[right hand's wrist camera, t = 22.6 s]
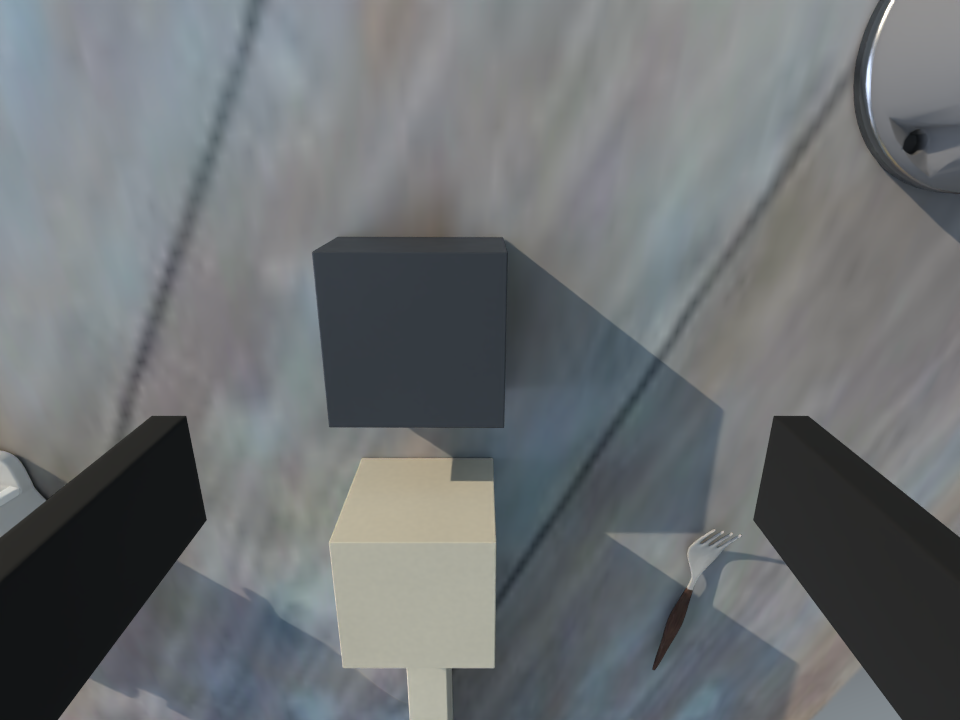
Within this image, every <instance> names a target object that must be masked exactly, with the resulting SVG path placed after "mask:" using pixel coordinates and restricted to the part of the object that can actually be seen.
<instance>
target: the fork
mask: <svg viewBox="0 0 960 720" xmlns="http://www.w3.org/2000/svg"><path fill="white" fill-rule="evenodd" d="M715 531H716V530H715V529H713V530H711V531H710V532H708V533H707V534H705V535H703V536H702V537H700V538H699V539H698V540H696V541H695V542H694V543H693V544H692V545H691V546H690V547H689V549H688V552H687V557H688V562H689V566H690V569H691V580H690V582H689V584H688V586H687V587H686V589H685V591H684V592H683V594H682V596H681V597H680V599H679V600H678V602H677V604H676V605H675V607H674V609H673V610H672V612H671V614H670V616H669V618H668V621H667V624H666V627H665V630H664V634H663V637H662V640H661V643H660V646H659V649H658V652H657V655H656V658H655V661H654V665H653V670H655V669H656V668H657V666H658V665H659V663H660V662H661V660H662V658H663V656H664V655H665V653H666V651H667V649H668V648H669V646H670V644H671V643H672V641H673V639H674V638H675V636H676V634H677V633H678V631H679V629H680V627H681V625H682V623H683V620H684V617H685V614H686V611H687V608H688V605H689V601H690V598H691V594H692V591H693V588H694V585H695V583H696V580H697V579H698V577H699V576H700V575H701V574H702V573H703V572H704V570H705V569H706V568H707V567H708V566H709V565H710V564H711V563H712V562H713V561H714V560H715V559H716V558H717V557H718V556H719V555H720V553H721V552H722V551H723V550H724V549H725V548H726V547H727V546H728V545H729V544H731V543H732V542H733V541H735V540H736V539H738V538H740V537H742V535H741V534H740V535H738V536H736V537H734V538H733V539H731V540H729V541H727V542H726V543H724V544H723V545H721V546H719V547H717V546H718V545H719V544H720V543H721V542H723V541H724V540H725V539H727V538H728V537H730V536H731V535H733V533H730V534H728V535H726V536H724V537H723V538H721V539H719V540H718V541H716V542H715V543H713V544H712V545H709V544H710V543H711V542H712V541H713V540H714V539H716V538H717V537H718V536H720V535H721V534H723V533H724V531H722V532H720V533H718V534H716V535H715V536H713V537H711V538H710V539H708V540H707V541H706V542H704V543H701V541H703V540H704V539H705V538H706V537H707V536H709V535H710V534H712V533H713V532H715Z"/></svg>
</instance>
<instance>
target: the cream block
mask: <svg viewBox="0 0 960 720" xmlns="http://www.w3.org/2000/svg"><path fill="white" fill-rule="evenodd" d="M329 547H330V556H331V565H332V574H333V583H334V592H335V601H336V610H337V619H338V628H339V637H340V646H341V655H342V664H343V668H407V681H408V698H409V714H410V720H453V694H452V668H495V619H496V521H495V496H494V471H493V458H362V459H361V462H360V464H359V467H358V470H357V472H356V475H355V477H354V480H353V482H352V485H351V488H350V490H349V493H348V495H347V498H346V500H345V503H344V506H343V508H342V511H341V513H340V516H339V518H338V521H337V524H336V526H335V529H334V531H333V534H332V536H331V539H330V542H329Z"/></svg>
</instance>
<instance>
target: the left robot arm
mask: <svg viewBox="0 0 960 720" xmlns="http://www.w3.org/2000/svg"><path fill="white" fill-rule="evenodd" d="M45 501H46V499H45V498H44V497H43V496H42V495H41V494H40V493H39V492H38V491H37V490H36V489H35V487H34V485H33V483H32V481H31V479H30V477H29V475H28V473H27V471H26V469H25V468H24V466H23V464H22V463H21V462H20V460H19V459H18V458H17V457H16V456H14V455H13V454H11V453H9V452H6V451H1V450H0V537H1V536H3V535H4V534H5V533H6V532H8V531H9V530H10V529H11V528H13V527H14V526H15V525H16V524H18V523H19V522H20V521H21V520H23V519H24V518H25V517H26V516H28V515H29V514H30V513H31V512H33V511H34V510H35V509H36V508H38V507H39V506H40V505H41V504H43V503H44V502H45Z"/></svg>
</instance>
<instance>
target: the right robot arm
mask: <svg viewBox="0 0 960 720" xmlns="http://www.w3.org/2000/svg"><path fill="white" fill-rule="evenodd" d="M854 105H855V113H856V117H857V122H858V126H859V129H860V132H861V134H862V137H863V139H864V141H865V143H866V145H867V147H868V149H869V150H870V152H871V153H872V155H873V156H874V158H875V159H876V160H877V161H878V163H879V164H880V165H881V166H882V167H883V168H884V169H885V170H886V171H888V172H889V173H890V174H892V175H893V176H894V177H896V178H897V179H899V180H901V181H903V182H904V183H906V184H909V185H911V186H914V187H916V188H920V189H924V190H928V191H934V192H943V193H955V194H960V0H880V1H879V2H878V4H877V6H876V8H875V10H874V12H873V14H872V16H871V18H870V20H869V23H868V25H867V27H866V30H865V32H864V35H863V38H862V41H861V44H860V48H859V52H858V56H857V61H856V67H855V74H854ZM206 520H207V519H206V514H205V509H204V504H203V499H202V494H201V489H200V484H199V479H198V474H197V469H196V463H195V458H194V453H193V448H192V443H191V438H190V433H189V428H188V423H187V418H186V416H151V417H150V418H149V419H148V420H146V421H145V422H144V423H143V424H141V425H140V426H139V427H138V428H136V429H135V430H134V431H133V432H131V433H130V434H129V435H128V436H126V437H125V438H124V439H123V440H121V441H120V442H119V443H118V444H116V445H115V446H114V447H113V448H111V449H110V450H109V451H108V452H106V453H105V454H104V455H103V456H101V457H100V458H99V459H98V460H96V461H95V462H94V463H93V464H91V465H90V466H89V467H88V468H86V469H85V470H84V471H83V472H81V473H80V474H79V475H78V476H76V477H75V478H74V479H73V480H71V481H70V482H69V483H68V484H66V485H65V486H64V487H63V488H61V489H60V490H59V491H58V492H56V493H55V494H54V495H53V496H51V497H50V498H49V499H48V500H46V501H45V502H44V503H43V504H41V505H40V506H39V507H38V508H36V509H35V510H34V511H33V512H31V513H30V514H29V515H28V516H26V517H25V518H24V519H23V520H21V521H20V522H19V523H18V524H16V525H15V526H14V527H13V528H11V529H10V530H9V531H8V532H6V533H5V534H4V535H3V536H1V537H0V720H58V719H59V717H60V716H61V715H62V713H63V712H64V711H65V709H66V708H67V707H68V705H69V704H70V703H71V701H72V700H73V699H74V697H75V696H76V695H77V693H78V692H79V691H80V689H81V688H82V687H83V685H84V684H85V683H86V681H87V680H88V679H89V677H90V676H91V674H92V673H93V672H94V670H95V669H96V668H97V666H98V665H99V664H100V662H101V661H102V660H103V658H104V657H105V656H106V654H107V653H108V652H109V650H110V649H111V648H112V646H113V645H114V644H115V642H116V641H117V640H118V638H119V637H120V636H121V634H122V633H123V632H124V630H125V629H126V628H127V626H128V625H129V623H130V622H131V621H132V619H133V618H134V617H135V615H136V614H137V613H138V611H139V610H140V609H141V607H142V606H143V605H144V603H145V602H146V601H147V599H148V598H149V597H150V595H151V594H152V593H153V591H154V590H155V589H156V587H157V586H158V585H159V583H160V582H161V581H162V579H163V578H164V577H165V575H166V574H167V572H168V571H169V570H170V568H171V567H172V566H173V564H174V563H175V562H176V560H177V559H178V558H179V556H180V555H181V554H182V552H183V551H184V550H185V548H186V547H187V546H188V544H189V543H190V542H191V540H192V539H193V538H194V536H195V535H196V534H197V532H198V531H199V530H200V528H201V527H202V526H203V524H204V523H205V522H206ZM753 520H754V522H755V523H756V524H757V526H758V527H759V528H760V530H761V531H762V532H763V534H764V535H765V536H766V538H767V539H768V540H769V542H770V543H771V544H772V546H773V547H774V548H775V550H776V551H777V552H778V554H779V555H780V556H781V558H782V559H783V560H784V562H785V563H786V564H787V566H788V567H789V568H790V570H791V571H792V572H793V574H794V575H795V577H796V578H797V579H798V581H799V582H800V583H801V585H802V586H803V587H804V589H805V590H806V591H807V593H808V594H809V595H810V597H811V598H812V599H813V601H814V602H815V603H816V605H817V606H818V607H819V609H820V610H821V611H822V613H823V614H824V615H825V617H826V618H827V619H828V621H829V622H830V623H831V625H832V626H833V628H834V629H835V630H836V632H837V633H838V634H839V636H840V637H841V638H842V640H843V641H844V642H845V644H846V645H847V646H848V648H849V649H850V650H851V652H852V653H853V654H854V656H855V657H856V658H857V660H858V661H859V662H860V664H861V665H862V666H863V668H864V669H865V670H866V672H867V673H868V674H869V676H870V677H871V678H872V680H873V681H874V683H875V684H876V685H877V687H878V688H879V689H880V691H881V692H882V693H883V695H884V696H885V697H886V699H887V700H888V701H889V703H890V704H891V705H892V707H893V708H894V709H895V711H896V712H897V713H898V715H899V716H900V717H901V719H902V720H960V537H959V536H957V535H956V534H955V533H954V532H952V531H951V530H950V529H949V528H947V527H946V526H945V525H944V524H942V523H941V522H940V521H939V520H937V519H936V518H935V517H934V516H932V515H931V514H930V513H929V512H927V511H926V510H925V509H924V508H922V507H921V506H920V505H919V504H917V503H916V502H915V501H914V500H912V499H911V498H910V497H909V496H907V495H906V494H905V493H904V492H902V491H901V490H900V489H899V488H897V487H896V486H895V485H894V484H892V483H891V482H890V481H889V480H887V479H886V478H885V477H884V476H882V475H881V474H880V473H879V472H877V471H876V470H875V469H874V468H872V467H871V466H870V465H869V464H867V463H866V462H865V461H864V460H862V459H861V458H860V457H859V456H857V455H856V454H855V453H854V452H852V451H851V450H850V449H849V448H847V447H846V446H845V445H844V444H842V443H841V442H840V441H839V440H837V439H836V438H835V437H834V436H832V435H831V434H830V433H829V432H827V431H826V430H825V429H824V428H822V427H821V426H820V425H819V424H817V423H816V422H815V421H814V420H812V419H811V418H810V417H809V416H774V418H773V423H772V428H771V433H770V438H769V443H768V448H767V453H766V458H765V463H764V469H763V474H762V479H761V484H760V489H759V494H758V499H757V504H756V509H755V514H754V519H753Z"/></svg>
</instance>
